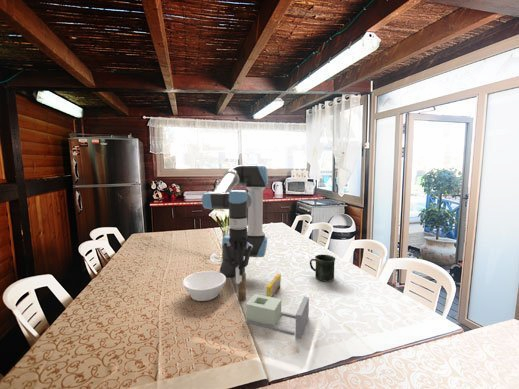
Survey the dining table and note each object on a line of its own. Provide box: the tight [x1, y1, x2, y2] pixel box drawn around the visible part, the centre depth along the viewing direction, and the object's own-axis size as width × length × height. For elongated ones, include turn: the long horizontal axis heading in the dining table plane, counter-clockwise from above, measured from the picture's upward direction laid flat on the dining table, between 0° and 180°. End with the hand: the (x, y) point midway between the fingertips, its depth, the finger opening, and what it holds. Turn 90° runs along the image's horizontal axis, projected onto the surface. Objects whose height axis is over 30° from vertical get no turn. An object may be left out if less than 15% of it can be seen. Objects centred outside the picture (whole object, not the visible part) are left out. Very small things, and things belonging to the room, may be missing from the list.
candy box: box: [265, 273, 282, 298], centre depth 127 cm, size 16×2×8 cm, turn 157°
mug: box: [309, 254, 336, 282], centre depth 147 cm, size 11×15×12 cm
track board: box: [244, 295, 310, 339], centre depth 104 cm, size 24×14×10 cm, turn 68°
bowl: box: [182, 270, 227, 302], centre depth 128 cm, size 21×21×8 cm
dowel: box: [237, 271, 247, 302], centre depth 121 cm, size 4×4×14 cm
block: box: [245, 293, 282, 327], centre depth 106 cm, size 12×9×7 cm
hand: (238, 281), depth 109 cm, fingers closed
